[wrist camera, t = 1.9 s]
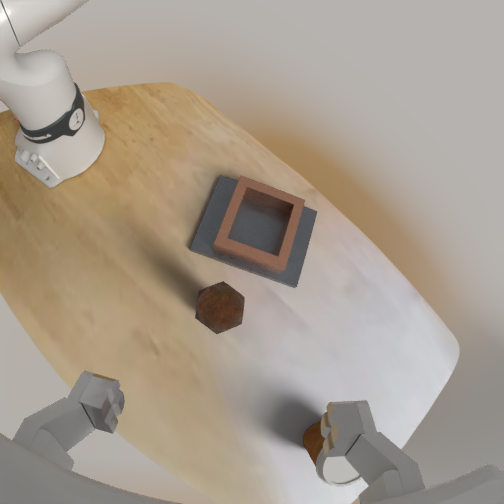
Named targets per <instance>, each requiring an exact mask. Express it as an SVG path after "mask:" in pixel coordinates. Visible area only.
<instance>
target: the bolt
mask: <svg viewBox="0 0 504 504" xmlns="http://www.w3.org/2000/svg"><path fill="white" fill-rule="evenodd" d="M243 310H244V297H243V296H242V295H241V294H240V293H239V292H237V291H236V290H235V289H233V288H232V287H231V286H229V285H228V284H226V283H225V282H220V283H217V284H215V285H212V286H209V287H207V288H205V289H202V290H200V291H199V292H198V299H197V306H196V315H195V318H196V319H197V320H199V321H200V322H201V323H202V324H204V325H205V326H206V327H208V328H209V329H210V330H212V331H213V332H214V333H216V334H219V333H221V332H224V331H226V330H229V329H231V328H233V327H236V326H238V325H240V324H242V318H243Z"/></svg>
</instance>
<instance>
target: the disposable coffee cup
mask: <svg viewBox="0 0 504 504" xmlns="http://www.w3.org/2000/svg"><path fill="white" fill-rule="evenodd" d="M324 441H325V438H324V437H323V436H322V435H321V422H319V423H316V424H314V425H312V426H311V427H310V428H309V429H308V430H307V431H306V433H305V435H304V438H303V443H304V446H305V448H306V450H307V451H308V453H309V455H310V457H311V459H312V461H313V463H314V464H315V466H316V472H317V475H318V477H319V478H320V479H321V480H322V481H323V482H324V483H326V484H329V485H334V486H347V485H351V484H353V483H355V482H357V481H359V480H360V479H362V477H361V476H360V475H359V474H358V472H357V471H356V470H355V469H354V468H353V467H352V465H351V464H350V463H349V462H348V461H347V459H346V458H345V456H341V457H325V456H324V449H323V442H324Z"/></svg>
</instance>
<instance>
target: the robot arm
mask: <svg viewBox="0 0 504 504" xmlns="http://www.w3.org/2000/svg"><path fill="white" fill-rule="evenodd" d="M87 1H88V0H0V100H1V101H2V102H3V103H4V104H5V105H6V106H7V107H8V108H9V109H10V110H11V112H12V113H13V114H14V115H15V116H16V118H15V119H14V120H16V119H17V121H16V123H18V121H19V122H20V128H19V130H18V132H17V134H16V137H15V145H16V146H17V147H18V148H17V151H16V154H15V161H16V163H17V164H19V165H20V166H21V167H22V168H24V169H25V170H26V171H27V172H29V173H30V174H31V175H33V176H34V177H35V178H37V179H38V180H39V181H40V182H42V183H43V184H44V185H46V186H47V187H48V188H53V187H55V186H56V185H58V184H59V183H60V182H62V181H63V180H65V179H68V178H71V177H74V176H76V175H78V174H80V173H82V172H83V171H85V170H86V169H87V168H88V167H90V166H91V165H92V164H93V162H94V161H95V160H96V159H97V157H98V156H99V154H100V153H101V151H102V148H103V145H104V141H105V134H104V130H103V128H102V127H101V125H100V123H99V113H98V112H97V110H92V108H91V106H90V104H89V103H88V101H87V99H86V97H85V96H84V95H82V93H81V91H80V89H79V88H78V86H77V84H76V83H74V82H73V79H72V77H71V74H70V72H69V69H68V67H67V64H66V62H65V60H64V58H63V56H62V55H60V54H59V53H58V52H55V51H51V50H38V51H34V52H30V53H22V54H20V53H16V51H17V50H18V49H19V47H21V46H23V45H24V44H26V43H27V42H29V41H30V40H32V39H33V38H34V37H36V36H38V35H39V34H41V33H42V32H44V31H45V30H47V29H49V28H50V27H52V26H54V25H55V24H57V23H59V22H60V21H62V20H63V19H65V18H66V17H67V16H68V15H70V14H71V13H73V12H74V11H75V10H77V9H78V8H79V7H81V6H82V5H83V4H85V3H86V2H87ZM48 178H49V179H48ZM119 388H120V383H119V380H116V379H112V378H109V377H105V376H102V375H98V374H95V373H91V372H88V371H84V372H83V373H82V374H81V375H80V377H79V379H78V380H77V382H76V384H75V386H74V387H73V389H72V391H71V393H70V394H69V396H68V398H63V399H61V400H59V401H57V402H55V403H53V404H51V405H50V406H48V407H46V408H44V409H42V410H40V411H38V412H37V413H35V414H33V415H31V416H29V417H27V418H25V419H24V421H23V423H22V424H21V426H20V428H19V429H18V431H17V433H16V435H15V437H14V438H13V440H10V439H9V438H7V437H6V436H4V435H2V434H1V433H0V504H181V503H175V502H170V501H165V500H161V499H156V498H152V497H148V496H144V495H140V494H137V493H133V492H129V491H126V490H123V489H119V488H116V487H113V486H110V485H107V484H104V483H101V482H99V481H96V480H93V479H90V478H88V477H85V476H82V475H80V474H78V473H75V472H73V471H71V470H72V467H73V464H74V461H73V459H72V458H71V457H70V456H69V455H68V453H67V451H68V450H69V449H71V448H72V447H73V446H75V445H76V444H77V443H79V442H80V441H81V440H83V439H84V438H85V437H86V436H88V435H89V434H90V433H92V432H93V431H94V430H95V429H99V430H102V431H106V432H109V433H114V431H115V428H116V426H117V423H118V419H117V417H116V416H118V415H119V414H121V413H122V410H123V408H124V401H125V400H124V394H123V392H122V391H121V390H120V389H119ZM321 435H322V436H323V437H324V438H325V441H324V442H323V449H324V456H325V457H341V456H345V458H346V459H347V461H348V462H349V463H350V464H351V465H352V467H353V468H354V469H355V470H356V471H357V472H358V474H359V475H360V476H361V477H362V478H363V479H364V480H365V482H366V483H367V484H368V485H369V486H368V487H367V488H366V489H365V490H364V491H363V492H362V493H361V494H360V495H359V500H360V504H504V471H503V470H501V469H500V468H498V467H496V466H494V465H492V464H488V465H484V466H482V467H480V468H478V469H475V470H473V471H471V472H469V473H466V474H464V475H462V476H459V477H457V478H454V479H451V480H449V481H446V482H443V483H441V484H438V485H435V486H432V487H429V488H426V489H425V487H424V484H423V480H422V477H421V474H420V470H419V467H418V464H417V463H416V462H415V461H413V459H411V458H410V457H409V456H408V455H407V454H405V453H404V452H403V451H402V450H401V449H399V448H398V447H397V446H396V445H395V444H394V443H392V442H391V441H390V440H389V439H388V438H387V437H385V436H384V435H383V434H382V433H381V432H377V430H376V427H375V424H374V420H373V417H372V414H371V410H370V407H369V404H368V402H367V401H366V400H363V401H343V402H330V403H329V404H328V405H327V412H326V413H324V414H323V417H322V419H321Z"/></svg>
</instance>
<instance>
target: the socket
mask: <svg viewBox="0 0 504 504" xmlns="http://www.w3.org/2000/svg"><path fill="white" fill-rule="evenodd" d="M304 202H305V200H304V199H301V198H299V197H296V196H294V195H291V194H288V193H286V192H283V191H281V190H278V189H275V188H273V187H270V186H268V185H265V184H262V183H259V182H257V181H254V180H251V179H249V178H246V177H243V176H240V179H239V181H236V180H233V179H230V178H227V177H224V176H220V178H219V180H218V183H217V185H216V187H215V190H214V192H213V194H212V197H211V199H210V201H209V204H208V206H207V208H206V211H205V213H204V216H203V218H202V221H201V223H200V225H199V228H198V230H197V233H196V235H195V238H194V240H193V243H192V245H191V248H190V251H192V252H195V253H198V254H201V255H203V256H206V257H209V258H212V259H214V260H217V261H220V262H223V263H226V264H228V265H231V266H234V267H237V268H239V269H242V270H245V271H248V272H251V273H254V274H256V275H259V276H262V277H265V278H268V279H271V280H273V281H276V282H279V283H282V284H285V285H288V286H291V287H293V288H295V287H297V284H298V280H299V277H300V274H301V270H302V266H303V263H304V259H305V256H306V252H307V248H308V245H309V241H310V237H311V233H312V230H313V226H314V222H315V218H316V214H317V211H315V210H312V209H310V208H307V207H305V206H304Z"/></svg>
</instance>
